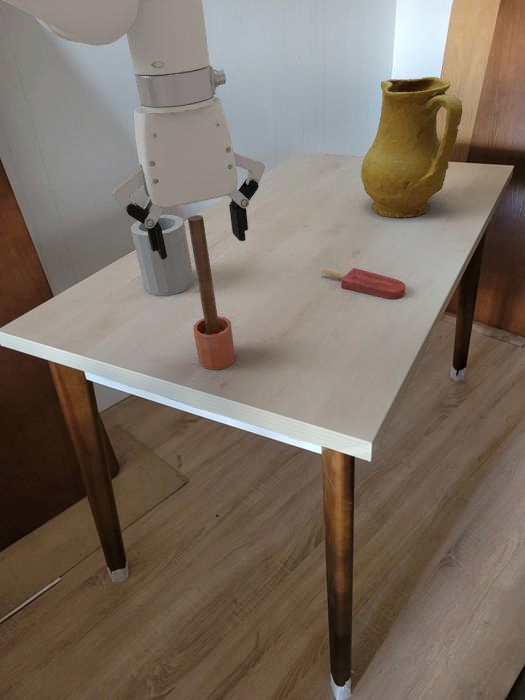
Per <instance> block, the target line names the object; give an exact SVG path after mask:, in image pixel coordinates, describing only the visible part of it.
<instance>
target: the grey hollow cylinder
mask: <svg viewBox="0 0 525 700" xmlns="http://www.w3.org/2000/svg"><path fill="white" fill-rule="evenodd" d="M158 223H159V224H160V226H161V228H162V233H163V238H164V243H165V247H166V252H167V257H166V259H163V260H162V259H161V257H160V256H159V254H158V252H157V251H154V252H153V251H152V249H151V245H150V241H149V237H148V232H147V228H146V226H145V225H144V224H142V223H141V222H139V221H138V220H136V222H134V223H133V224H132V225H131V227H130V231H131V236H132V241H133V245H134V249H135V252H136V253H135V254H136V257H137V262H138V267H139V270H140V274H141V275H140V276H141V279H142V283H143V287H144V289H145V291H146V292H147V293H148V294H150V295H153V296H159V297H165V296H166V297H167V296H173V295H176V294H180V293H182V292H185V291H186V290H188V289H190V288H191V287H192V286H193V284H194V273H193V272H194V271H193V266H192V261H191V255H190V250H189V243H188V236H187V232H186V225H185V221H184V219H183V218H182V217H180V216H178V215H174V214H161V216H160V217H159V219H158Z"/></svg>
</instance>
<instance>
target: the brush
mask: <svg viewBox="0 0 525 700" xmlns="http://www.w3.org/2000/svg"><path fill="white" fill-rule="evenodd" d="M187 224H188V228H189V234H190V235H189V236H190V242H191V248H192V253H193V259H194V267H195V272H196V277H197V284H198V285H197V286H198V289H199V297H200V302H201V308H202V309H201V310H202V314H203V318H204V321H205V327H206V330H205V331H204V334H207V335H211V334H218V333H220V332H222V331H223V330H222V329H221V328H219V322H218V316H219V315H218V310H217V302H216V296H215V288H214V282H213V276H212V269H211V262H210V255H209V247H208V242H207V233H206V228H205V220H204V216H203V215H200V214H195V215H191V216H189V217H188V218H187Z"/></svg>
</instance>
